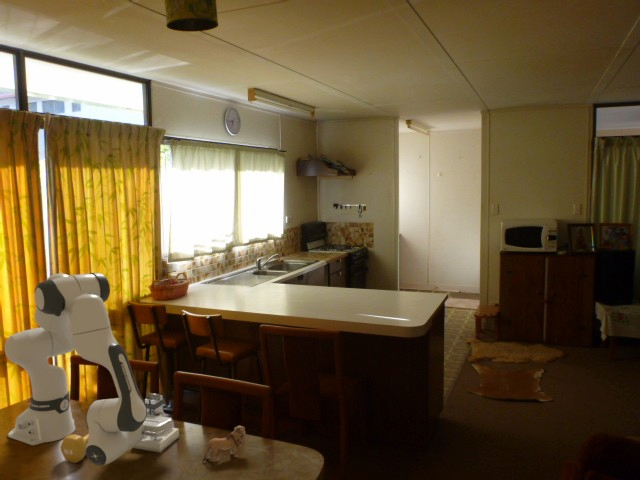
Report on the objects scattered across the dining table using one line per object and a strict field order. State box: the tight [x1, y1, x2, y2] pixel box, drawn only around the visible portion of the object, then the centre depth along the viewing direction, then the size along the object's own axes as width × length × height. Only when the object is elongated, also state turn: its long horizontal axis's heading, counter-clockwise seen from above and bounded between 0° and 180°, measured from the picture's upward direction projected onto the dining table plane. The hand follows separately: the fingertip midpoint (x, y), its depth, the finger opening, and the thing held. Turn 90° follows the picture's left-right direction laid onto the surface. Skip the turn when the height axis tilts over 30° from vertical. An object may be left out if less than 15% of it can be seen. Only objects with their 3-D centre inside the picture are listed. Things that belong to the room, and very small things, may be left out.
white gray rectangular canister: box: [144, 392, 165, 441], centre depth 180 cm, size 4×5×15 cm
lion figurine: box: [201, 425, 247, 462], centre depth 170 cm, size 15×5×9 cm, turn 119°
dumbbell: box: [60, 433, 89, 464], centre depth 176 cm, size 19×9×8 cm, turn 157°
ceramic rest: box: [131, 427, 180, 453], centre depth 180 cm, size 11×11×3 cm
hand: (156, 413), depth 180 cm, fingers closed on white gray rectangular canister, 4 cm apart
